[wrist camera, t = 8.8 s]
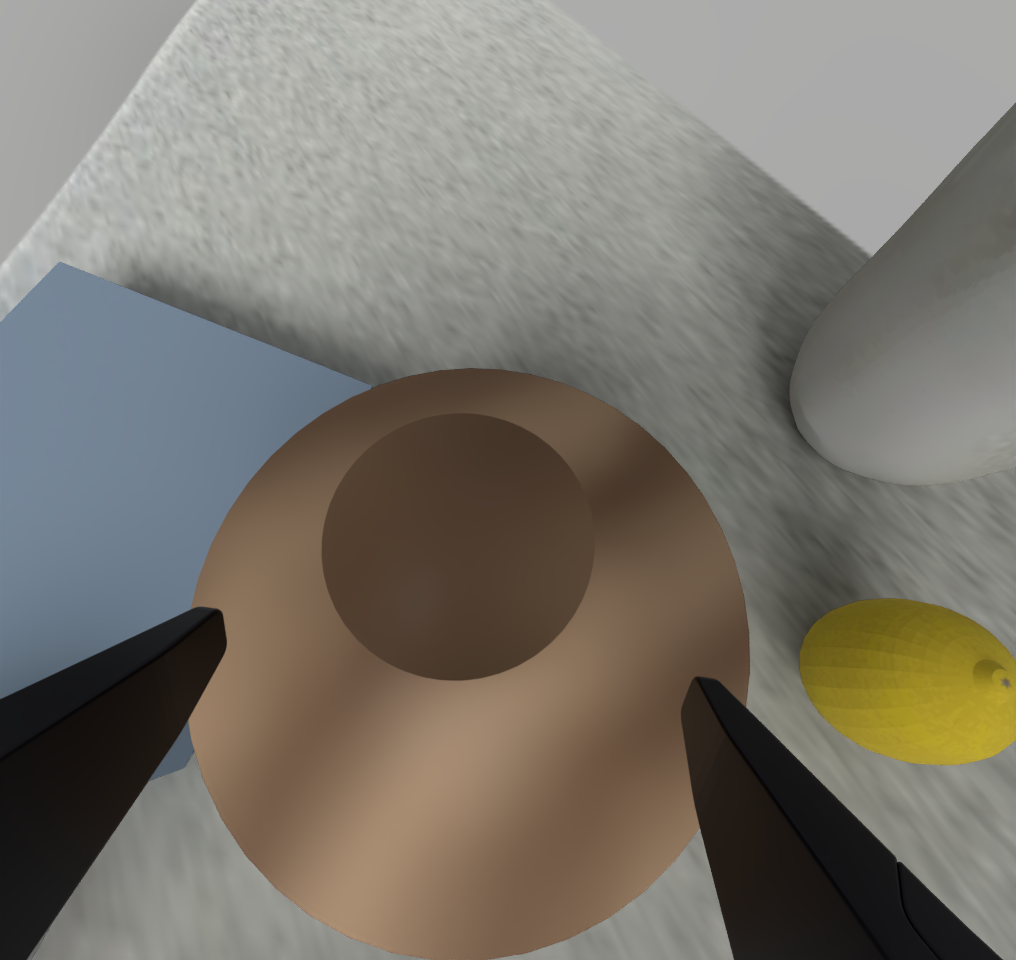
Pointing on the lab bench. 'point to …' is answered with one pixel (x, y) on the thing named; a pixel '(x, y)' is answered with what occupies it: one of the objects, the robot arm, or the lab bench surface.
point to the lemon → (911, 681)
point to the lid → (464, 663)
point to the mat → (125, 463)
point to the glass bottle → (924, 338)
